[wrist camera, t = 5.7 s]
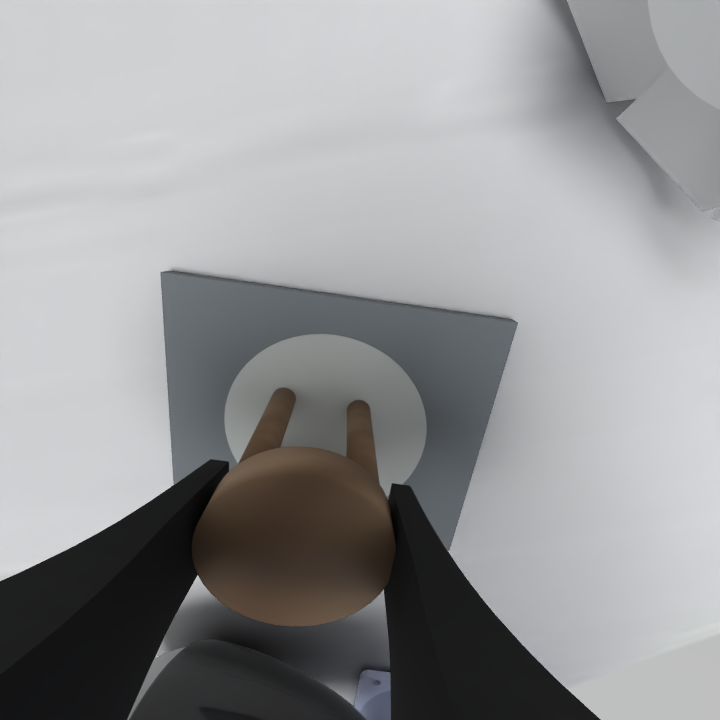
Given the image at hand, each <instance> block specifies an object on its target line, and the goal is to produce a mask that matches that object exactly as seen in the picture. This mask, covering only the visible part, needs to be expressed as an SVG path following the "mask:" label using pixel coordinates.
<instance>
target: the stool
mask: <svg viewBox="0 0 720 720" xmlns="http://www.w3.org/2000/svg"><path fill="white" fill-rule="evenodd" d="M295 402H296V396H295V394H294V392H293V391H292V390H290V389H288V388H278V389H277V390H275V391H274V393H273V394H272V396H271V398H270V401H269V403H268V405H267V407H266V409H265V411H264V413H263V415H262V417H261V419H260V421H259V423H258V425H257V427H256V429H255V431H254V433H253V435H252V437H251V439H250V441H249V443H248V445H247V447H246V449H245V451H244V453H243V455H242V457H241V459H240V461H239V463H238V465H236V466H235V467H234V468H232V469H231V470H230V471H229V472H228V473H227V474H226V475H225V476H224V478H223V479H222V480H221V482H220V483H219V484H218V486H217V488H216V490H215V492H214V494H213V495H212V497H211V499H210V501H209V503H208V505H207V507H206V508H205V510H204V512H203V514H202V516H201V518H200V520H199V522H198V523H197V525H196V528H195V531H194V534H193V539H192V558H193V563H194V567H195V569H196V571H197V574H198V576H199V578H200V579H201V581H202V583H203V584H204V586H205V587H206V588H207V589H208V590H209V592H210V593H211V594H212V595H213V596H214V597H215V598H217V599H218V600H219V601H220V602H221V603H223V604H224V605H226V606H227V607H228V608H230V609H232V610H234V611H235V612H237V613H239V614H241V615H244V616H246V617H248V618H251V619H254V620H257V621H260V622H265V623H269V624H274V625H281V626H312V625H320V624H324V623H329V622H333V621H336V620H339V619H342V618H344V617H347V616H349V615H351V614H353V613H355V612H357V611H359V610H361V609H362V608H364V607H365V606H366V605H368V604H369V603H371V602H372V601H373V600H374V599H375V598H376V597H377V596H378V595H379V594H380V593H381V592H382V590H383V589H384V588H385V586H386V585H387V583H388V581H389V578H390V574H391V569H392V565H393V561H394V556H395V552H396V544H395V537H394V530H393V524H392V517H391V511H390V506H389V502H388V499H387V497H386V495H385V492H384V490H383V489H382V487H381V486H380V483H379V475H378V468H377V460H376V452H375V444H374V436H373V428H372V420H371V412H370V407H369V405H368V404H367V403H366V402H365V401H363V400H355V401H353V402H351V403H350V404H349V405H348V407H347V452H346V457H345V456H343V455H341V454H338V453H335V452H332V451H329V450H325V449H320V448H315V447H304V446H293V447H282V448H280V447H281V444H282V441H283V438H284V435H285V432H286V429H287V426H288V423H289V420H290V417H291V414H292V411H293V408H294V405H295Z"/></svg>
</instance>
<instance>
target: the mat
mask: <svg viewBox="0 0 720 720" xmlns="http://www.w3.org/2000/svg"><path fill="white" fill-rule="evenodd" d="M161 287H162V303H163V319H164V335H165V351H166V367H167V383H168V399H169V416H170V432H171V448H172V464H173V480H174V485H175V484H176V483H178V482H179V481H180V480H182V479H183V478H185V477H186V476H187V475H189V474H190V473H192V472H193V471H194V470H196V469H197V468H199V467H200V466H202V465H203V464H204V463H206V462H207V461H209V460H210V459H214V460H221V461H229V471H230V470H231V469H232V468H234V467H235V466H236V465H238V463H239V461H240V459H241V457H242V455H243V453H244V451H245V449H246V447H247V445H248V443H249V441H250V439H251V437H252V435H253V433H254V431H255V429H256V427H257V425H258V423H259V421H260V419H261V417H262V415H263V413H264V411H265V409H266V407H267V405H268V403H269V401H270V398H271V396H272V394H273V393H274V391H275V390H277V389H278V388H288V389H290V390H292V391H293V392H294V394H295V396H296V402H295V405H294V408H293V411H292V414H291V417H290V420H289V423H288V426H287V429H286V432H285V435H284V438H283V441H282V444H281V447H280V448H282V447H293V446H304V447H315V448H320V449H325V450H329V451H332V452H335V453H338V454H341V455H343V456H345V457H346V452H347V407H348V405H349V404H350V403H351V402H353V401H355V400H363V401H365V402H366V403H367V404H368V405H369V407H370V412H371V420H372V428H373V436H374V444H375V452H376V460H377V468H378V475H379V483H380V486H381V487H382V489H383V490H384V492H385V495H386V497H387V499H389V494H390V489H391V484H392V483H394V484H402V485H409V486H411V488H412V489H413V491H414V493H415V495H416V497H417V499H418V501H419V503H420V505H421V507H422V509H423V511H424V512H425V514H426V516H427V518H428V520H429V521H430V523H431V525H432V527H433V528H434V530H435V532H436V533H437V535H438V537H439V538H440V540H441V541H442V543H443V545H444V546H445V548H446V549H447V550H449V549H450V546H451V543H452V539H453V536H454V533H455V529H456V526H457V523H458V519H459V516H460V513H461V510H462V506H463V503H464V500H465V496H466V493H467V490H468V486H469V483H470V480H471V476H472V473H473V470H474V467H475V463H476V460H477V457H478V453H479V450H480V447H481V443H482V440H483V437H484V433H485V430H486V427H487V424H488V420H489V417H490V414H491V410H492V407H493V404H494V400H495V397H496V394H497V390H498V387H499V384H500V381H501V377H502V374H503V371H504V367H505V364H506V361H507V357H508V354H509V351H510V347H511V344H512V341H513V337H514V334H515V331H516V328H517V324H518V323H517V322H515V321H513V320H511V319H504V318H497V317H490V316H483V315H476V314H469V313H462V312H455V311H448V310H441V309H434V308H427V307H420V306H413V305H406V304H399V303H392V302H385V301H378V300H371V299H364V298H357V297H350V296H343V295H336V294H329V293H322V292H314V291H307V290H300V289H293V288H286V287H279V286H272V285H265V284H258V283H251V282H244V281H237V280H230V279H223V278H216V277H209V276H202V275H195V274H188V273H181V272H174V271H165V272H161Z"/></svg>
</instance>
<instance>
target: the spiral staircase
mask: <svg viewBox="0 0 720 720" xmlns="http://www.w3.org/2000/svg"><path fill="white" fill-rule="evenodd" d="M567 2H568V5H569V7H570V10H571V12H572V15H573V17H574V20H575V23H576V25H577V28H578V30H579V33H580V36H581V38H582V41H583V43H584V46H585V48H586V51H587V54H588V56H589V59H590V61H591V64H592V67H593V69H594V72H595V74H596V77H597V79H598V82H599V85H600V87H601V90H602V92H603V95H604V98H605V100H606V101H607V102H615V101H624V100H632V99H636V100H635V101H634V102H633V103H632V104H631V105H630V106H629V107H628V108H627V109H626V110H625V111H624V112H623V113H621V114H620V115H619V116H618V117H617V118H616V119H617V121H618V122H619V123H620V124H621V125H622V126H623V127H624V128H625V129H626V130H627V131H628V132H629V133H630V135H631V136H632V137H633V138H634V139H635V140H636V141H637V142H638V143H639V144H640V145H641V146H642V148H643V149H644V150H645V151H646V152H647V153H648V154H649V155H650V156H651V157H652V158H653V159H654V160H655V162H656V163H657V164H658V165H659V166H660V167H661V168H662V169H663V170H664V171H665V172H666V173H667V174H668V176H669V177H670V178H671V179H672V180H673V181H674V182H675V183H676V184H677V185H678V186H679V187H680V189H681V190H682V191H683V192H684V193H685V194H686V195H687V196H688V197H689V198H690V199H691V200H692V201H693V203H694V204H695V205H696V206H697V207H698V208H699V209H700V210H701V211H706V210H709V209H713V208H716V207H717V208H716V210H715V211H714V213H713V215H712V216H711V218H713V219H715V220H716V221H718V222H720V0H567Z"/></svg>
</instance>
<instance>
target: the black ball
mask: <svg viewBox="0 0 720 720" xmlns="http://www.w3.org/2000/svg"><path fill="white" fill-rule="evenodd" d="M127 720H367V719H366V718H365V717H364V716H363V715H362V714H361V713H360V712H359V711H358V710H357V709H356V708H355V707H354V706H353V705H352V704H350V703H349V702H348V701H347V700H345V699H344V698H343V697H342V696H340V695H339V694H338V693H336V692H335V691H333V690H332V689H330V688H329V687H327V686H326V685H324V684H323V683H321V682H319V681H317V680H316V679H314V678H312V677H310V676H309V675H307V674H305V673H303V672H301V671H299V670H298V669H296V668H294V667H292V666H290V665H288V664H286V663H284V662H282V661H280V660H277V659H275V658H273V657H271V656H268V655H266V654H263V653H261V652H258V651H255V650H252V649H249V648H246V647H243V646H240V645H237V644H234V643H230V642H226V641H221V640H214V639H202V640H198V641H195V642H193V643H191V644H190V645H188V646H187V647H183V648H179V649H176V650H173V651H170V652H168V653H165V654H163V655H161V656H159V657H157V658H155V659H154V660H153V662H152V665H151V667H150V669H149V671H148V673H147V676H146V678H145V680H144V682H143V685H142V687H141V689H140V692H139V694H138V696H137V698H136V701H135V703H134V705H133V708H132V710H131V712H130V714H129V717H128V719H127Z"/></svg>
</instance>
